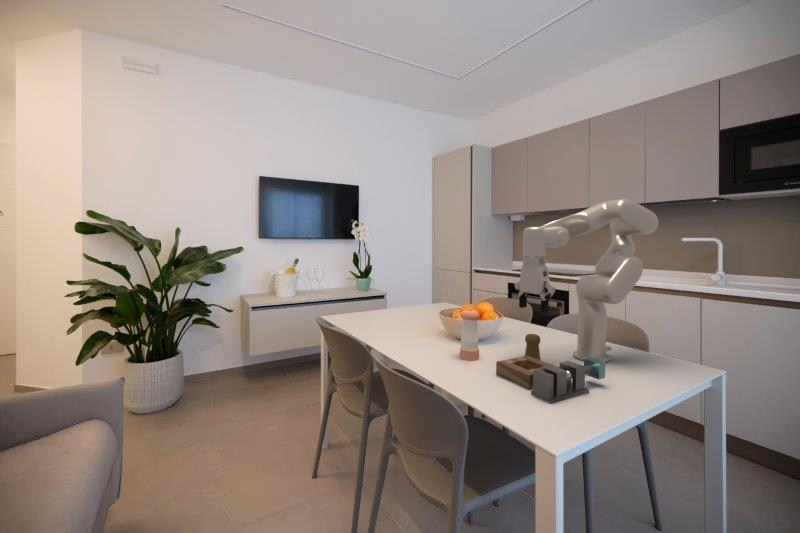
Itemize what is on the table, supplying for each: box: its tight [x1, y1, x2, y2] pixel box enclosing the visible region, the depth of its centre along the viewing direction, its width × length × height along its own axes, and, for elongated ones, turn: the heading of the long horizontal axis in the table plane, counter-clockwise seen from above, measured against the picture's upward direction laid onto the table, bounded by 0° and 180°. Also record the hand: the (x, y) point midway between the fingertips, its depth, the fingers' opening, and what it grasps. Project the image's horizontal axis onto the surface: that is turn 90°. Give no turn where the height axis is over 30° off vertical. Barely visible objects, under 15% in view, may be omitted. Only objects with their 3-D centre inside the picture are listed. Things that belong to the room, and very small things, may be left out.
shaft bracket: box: [530, 360, 590, 405], centre depth 104 cm, size 16×7×8 cm, turn 118°
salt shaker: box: [459, 307, 480, 361], centre depth 137 cm, size 7×7×19 cm
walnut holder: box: [495, 355, 559, 391], centre depth 116 cm, size 14×14×4 cm
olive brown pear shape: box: [524, 333, 541, 360], centre depth 129 cm, size 6×6×11 cm
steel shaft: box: [567, 357, 607, 380], centre depth 107 cm, size 17×5×5 cm, turn 118°
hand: (533, 309), depth 128 cm, fingers open, 9 cm apart
